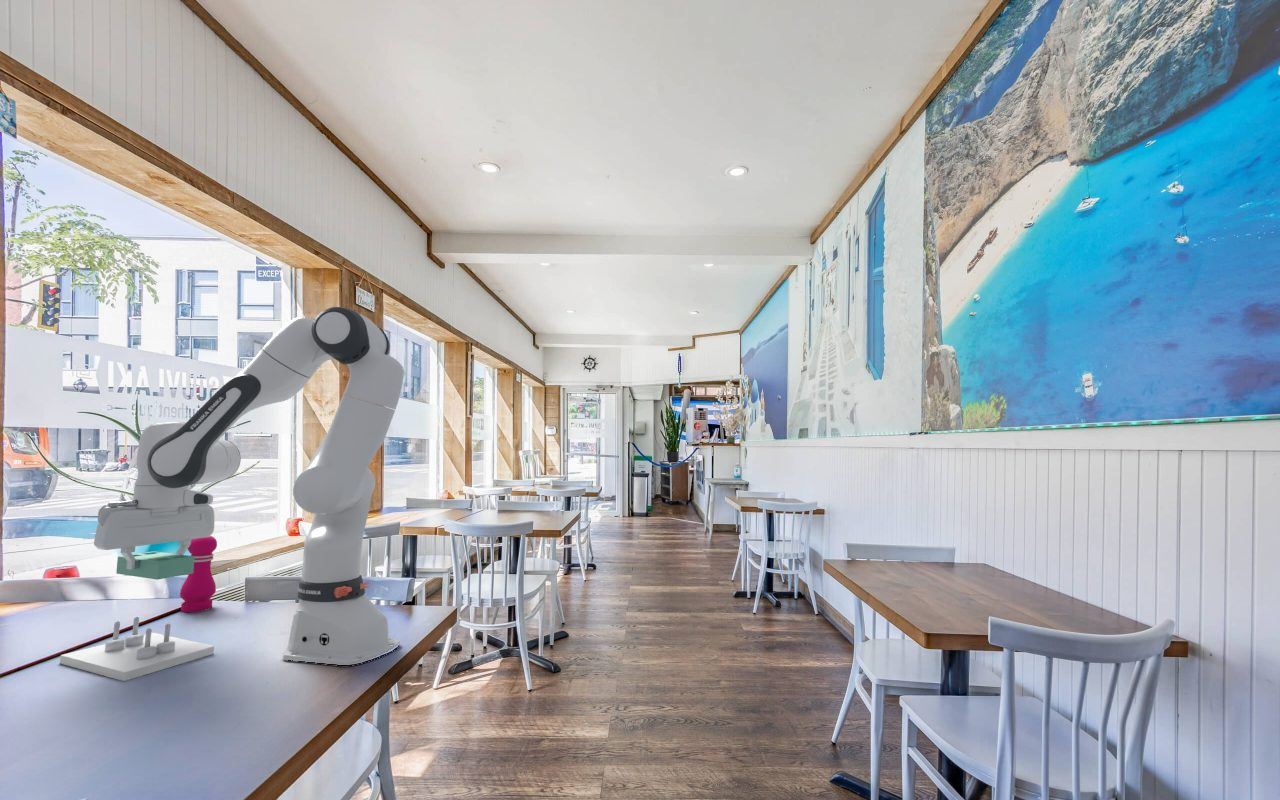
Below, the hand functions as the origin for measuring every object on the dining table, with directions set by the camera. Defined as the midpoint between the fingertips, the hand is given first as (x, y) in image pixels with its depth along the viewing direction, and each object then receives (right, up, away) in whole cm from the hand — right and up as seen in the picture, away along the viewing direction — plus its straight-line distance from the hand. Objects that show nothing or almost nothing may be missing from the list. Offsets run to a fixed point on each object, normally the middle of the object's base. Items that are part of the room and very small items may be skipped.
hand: (155, 565), depth 119 cm
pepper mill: (-11, -19, +25) cm, 33 cm away
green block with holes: (0, -2, 0) cm, 2 cm away
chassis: (+4, -16, -8) cm, 18 cm away
